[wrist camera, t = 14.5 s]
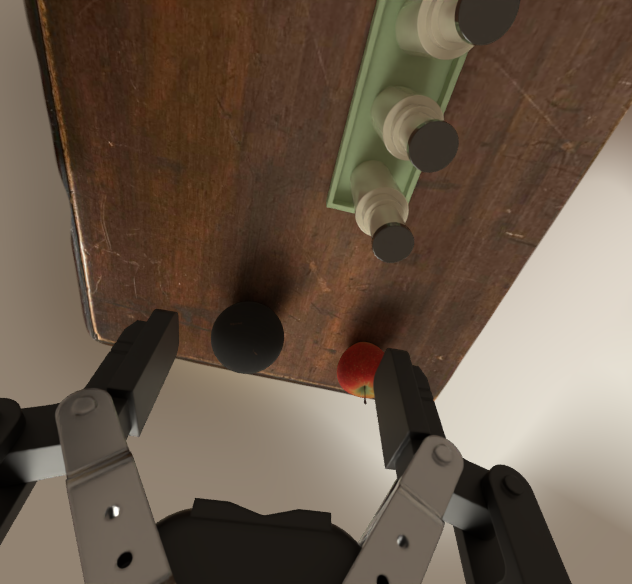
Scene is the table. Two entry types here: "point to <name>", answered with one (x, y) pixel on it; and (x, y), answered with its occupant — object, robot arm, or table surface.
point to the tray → (374, 76)
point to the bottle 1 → (381, 210)
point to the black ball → (247, 337)
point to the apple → (359, 369)
